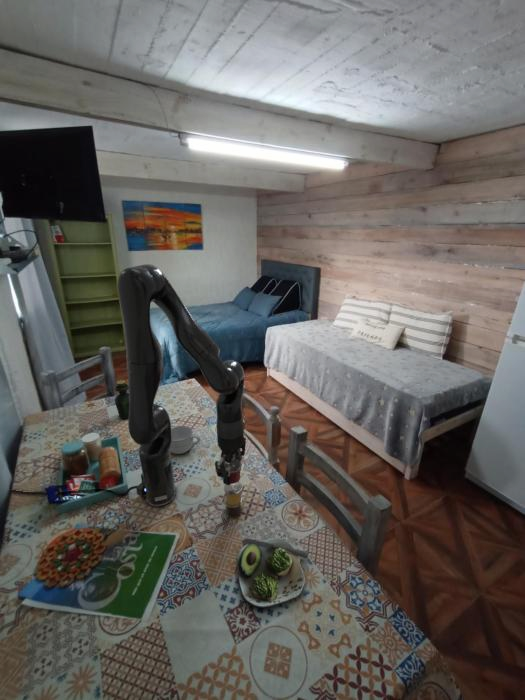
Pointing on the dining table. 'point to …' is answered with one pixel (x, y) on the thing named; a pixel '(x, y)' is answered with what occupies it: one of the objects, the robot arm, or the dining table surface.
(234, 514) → the base pod
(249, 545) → the salad plate
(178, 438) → the teacup
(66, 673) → the dining table surface
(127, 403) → the potion bottle
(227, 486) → the gold pod
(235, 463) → the burgundy pod
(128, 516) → the dining table surface
